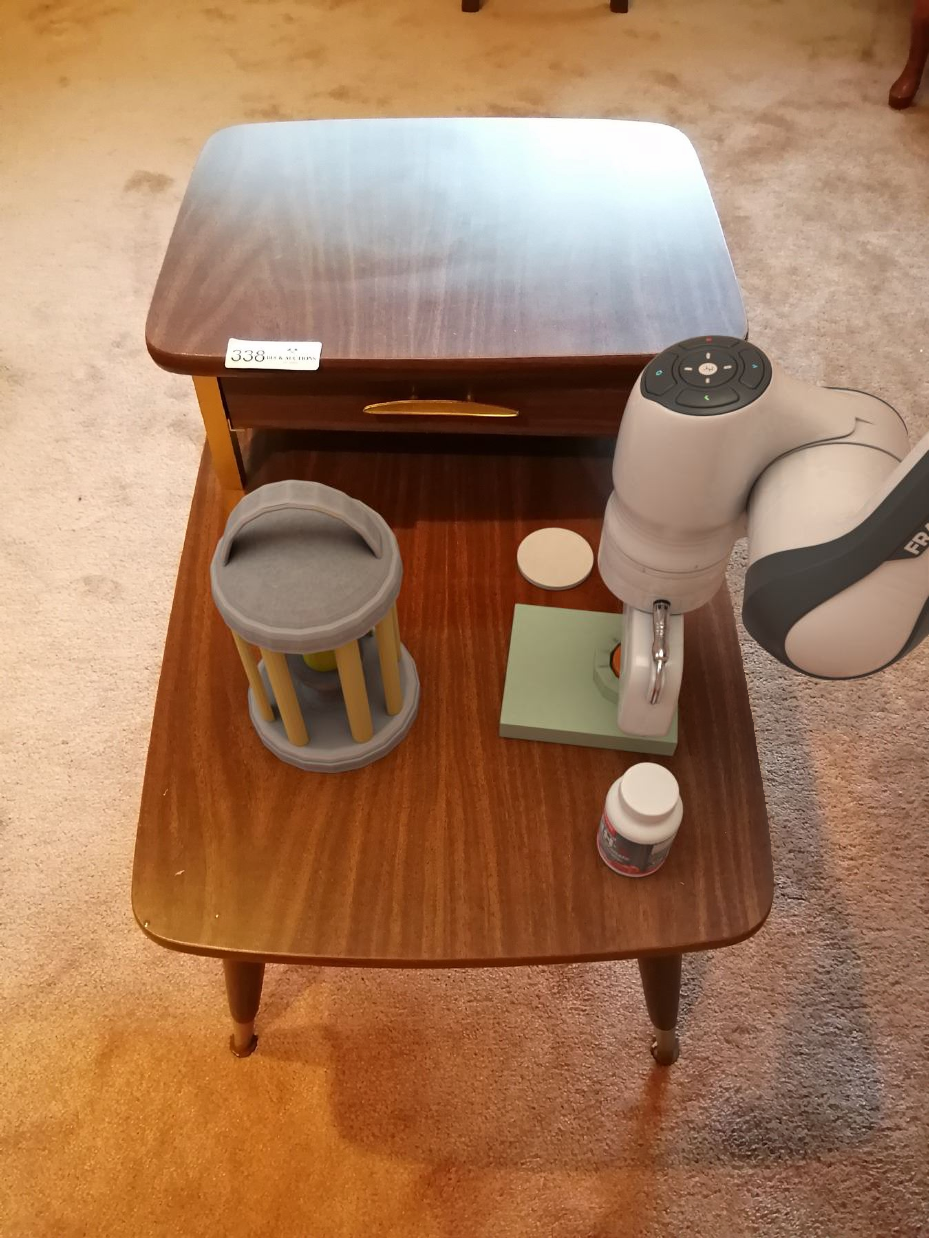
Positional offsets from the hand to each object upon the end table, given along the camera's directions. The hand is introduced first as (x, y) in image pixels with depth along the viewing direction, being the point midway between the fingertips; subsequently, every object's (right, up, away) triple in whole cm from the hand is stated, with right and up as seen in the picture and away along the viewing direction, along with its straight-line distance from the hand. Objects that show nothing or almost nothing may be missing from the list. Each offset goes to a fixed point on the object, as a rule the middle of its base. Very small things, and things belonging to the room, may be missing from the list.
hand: (636, 660), depth 79 cm
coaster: (-6, +9, +12) cm, 16 cm away
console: (-3, -2, +4) cm, 5 cm away
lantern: (-25, -3, +3) cm, 25 cm away
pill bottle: (-1, -14, -5) cm, 15 cm away
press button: (0, -1, +1) cm, 2 cm away
